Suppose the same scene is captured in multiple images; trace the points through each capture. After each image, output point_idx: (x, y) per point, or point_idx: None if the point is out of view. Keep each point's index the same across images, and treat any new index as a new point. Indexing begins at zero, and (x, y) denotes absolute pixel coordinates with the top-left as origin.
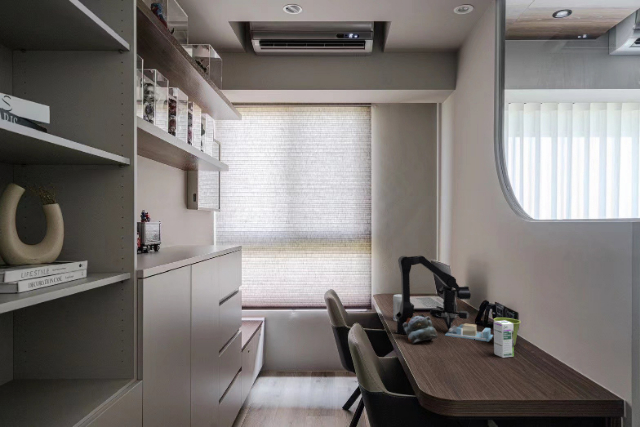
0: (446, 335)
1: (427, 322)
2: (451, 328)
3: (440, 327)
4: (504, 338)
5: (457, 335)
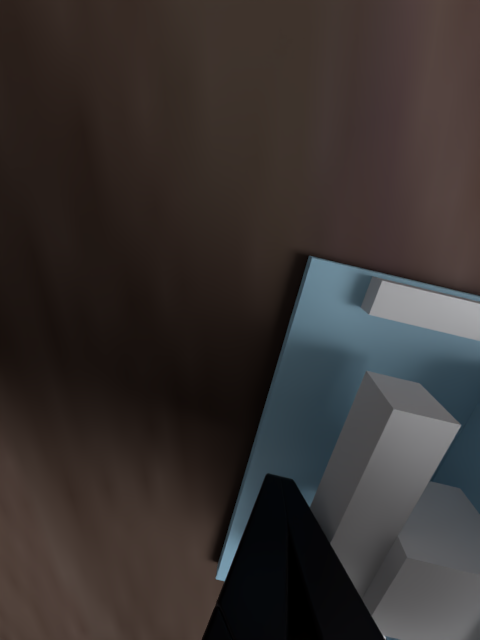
0: None
1: None
2: None
3: (71, 44)
4: None
5: None
